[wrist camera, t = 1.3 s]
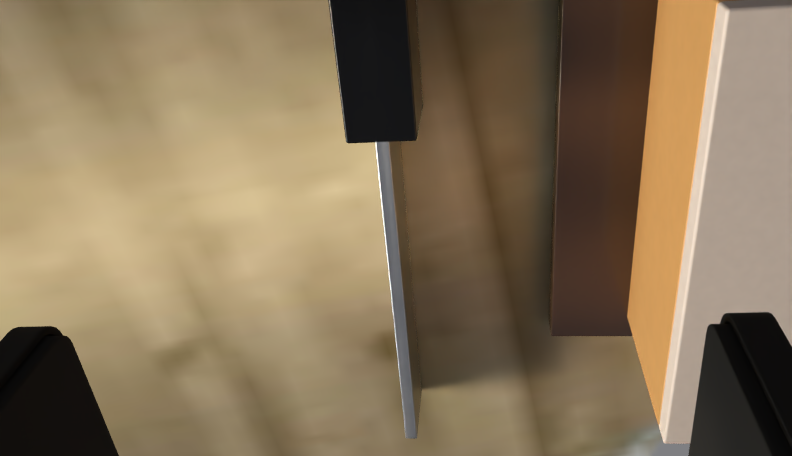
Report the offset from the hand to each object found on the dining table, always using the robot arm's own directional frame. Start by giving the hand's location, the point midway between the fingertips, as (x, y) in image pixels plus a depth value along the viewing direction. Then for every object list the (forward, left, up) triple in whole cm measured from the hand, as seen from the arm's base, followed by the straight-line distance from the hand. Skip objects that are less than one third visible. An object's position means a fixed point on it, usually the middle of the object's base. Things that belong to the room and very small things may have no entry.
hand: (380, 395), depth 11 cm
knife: (+4, -2, -17) cm, 18 cm away
